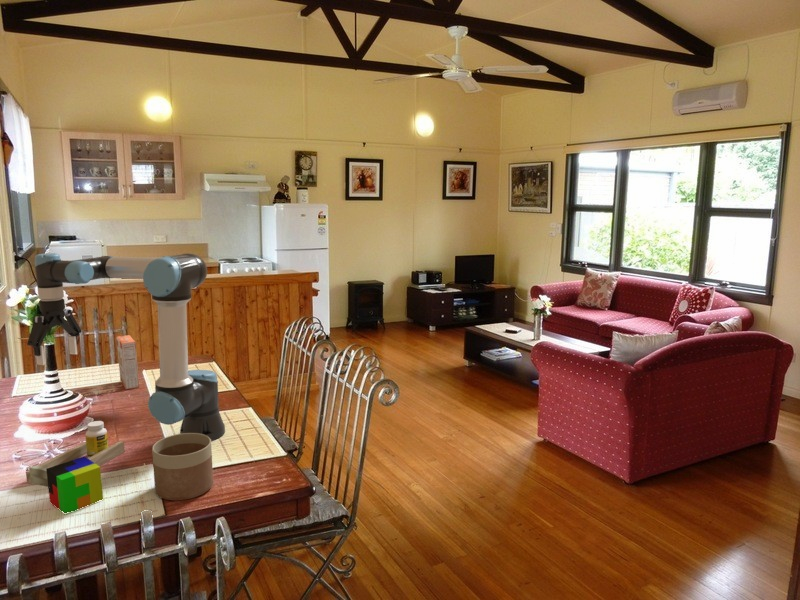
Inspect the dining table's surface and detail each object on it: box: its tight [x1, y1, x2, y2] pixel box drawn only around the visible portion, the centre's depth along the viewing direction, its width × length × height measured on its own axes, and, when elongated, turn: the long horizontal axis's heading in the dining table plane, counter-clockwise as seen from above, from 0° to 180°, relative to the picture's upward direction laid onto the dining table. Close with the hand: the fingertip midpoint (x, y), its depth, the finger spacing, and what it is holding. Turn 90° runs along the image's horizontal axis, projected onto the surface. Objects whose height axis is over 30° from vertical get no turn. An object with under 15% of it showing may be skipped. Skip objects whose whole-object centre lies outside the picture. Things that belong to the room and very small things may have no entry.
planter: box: [151, 433, 214, 501], centre depth 170 cm, size 16×16×14 cm
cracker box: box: [116, 334, 140, 391], centre depth 260 cm, size 14×6×21 cm, turn 33°
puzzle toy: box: [46, 456, 104, 513], centre depth 163 cm, size 10×10×10 cm
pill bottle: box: [85, 420, 109, 459], centre depth 191 cm, size 6×6×11 cm
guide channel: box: [25, 440, 125, 488], centre depth 184 cm, size 12×26×5 cm, turn 164°
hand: (57, 359), depth 206 cm, fingers open, 13 cm apart
